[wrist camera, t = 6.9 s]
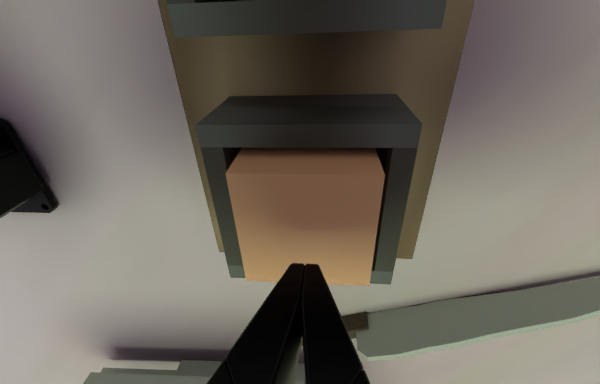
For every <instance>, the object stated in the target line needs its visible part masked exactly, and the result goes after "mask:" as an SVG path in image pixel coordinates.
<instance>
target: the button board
mask: <svg viewBox="0 0 600 384" xmlns="http://www.w3.org/2000/svg"><path fill="white" fill-rule="evenodd" d="M158 4H159V8H160V13H161V17H162V21H163V25H164V29H165V33H166V37H167V41H168V45H169V49H170V53H171V57H172V61H173V65H174V69H175V74H176V78H177V82H178V86H179V90H180V94H181V98H182V102H183V106H184V110H185V114H186V118H187V122H188V126H189V130H190V135H191V139H192V143H193V147H194V151H195V155H196V159H197V163H198V167H199V171H200V175H201V179H202V183H203V187H204V191H205V196H206V200H207V204H208V208H209V212H210V216H211V220H212V224H213V228H214V232H215V236H216V240H217V244H218V248H219V252H225V256H226V260H227V264H228V268H229V273H230V277H233V278H246V277H245V272H244V267H243V262H242V257H241V251H240V246H239V241H238V236H237V231H236V225H235V220H234V215H233V210H232V205H231V199H230V194H229V189H228V184H227V179H226V174H225V173H226V172H227V170H228V169H229V167H230V166H231V164H232V162H233V161H234V159H235V158H236V156H237V155H238V153H239V152H240V150H241V148H242V147H270V148H376V151H377V154H378V157H379V160H380V162H381V165H382V168H383V171H384V174H385V178H384V185H383V192H382V200H381V207H380V214H379V221H378V228H377V235H376V242H375V249H374V256H373V263H372V270H371V278H370V283H373V284H391V280H392V275H393V270H394V265H395V260H396V258H404V259H412V257H413V253H414V249H415V245H416V241H417V237H418V233H419V228H420V224H421V220H422V216H423V212H424V208H425V203H426V199H427V195H428V191H429V187H430V183H431V178H432V174H433V170H434V166H435V162H436V158H437V153H438V149H439V145H440V141H441V137H442V133H443V129H444V124H445V120H446V116H447V112H448V108H449V104H450V99H451V95H452V91H453V87H454V83H455V79H456V74H457V70H458V66H459V62H460V58H461V54H462V50H463V45H464V41H465V37H466V33H467V29H468V25H469V20H470V16H471V12H472V8H473V4H474V0H158Z"/></svg>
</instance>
